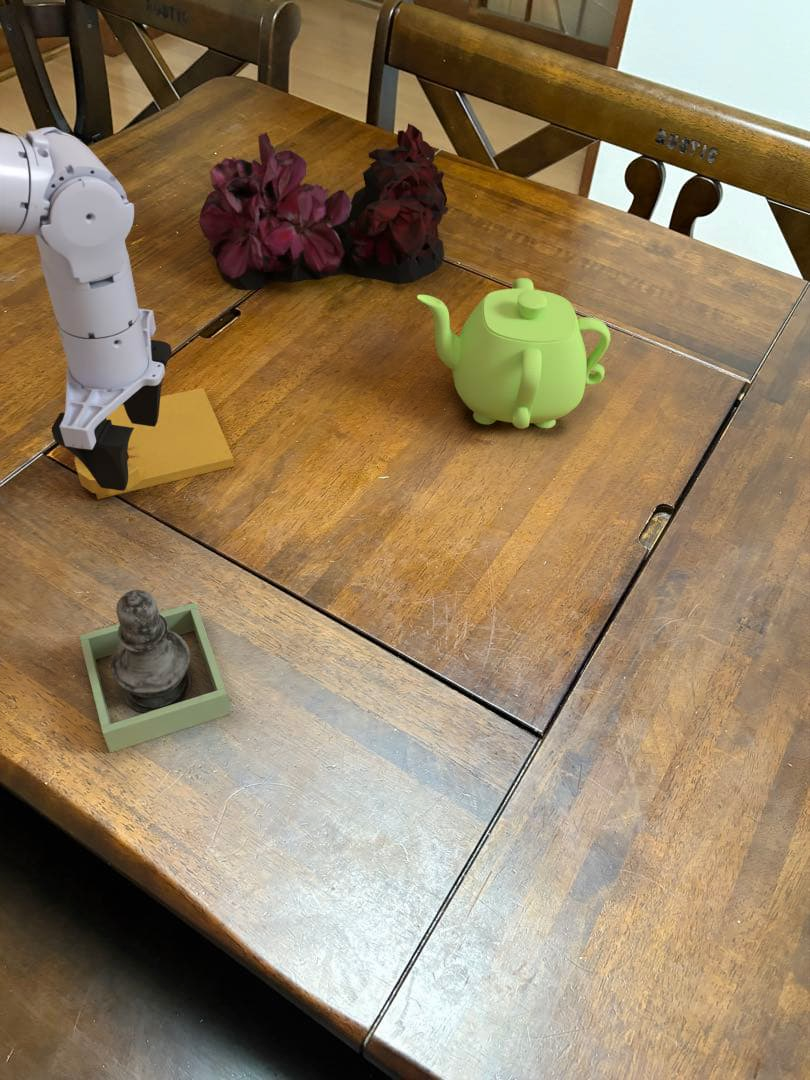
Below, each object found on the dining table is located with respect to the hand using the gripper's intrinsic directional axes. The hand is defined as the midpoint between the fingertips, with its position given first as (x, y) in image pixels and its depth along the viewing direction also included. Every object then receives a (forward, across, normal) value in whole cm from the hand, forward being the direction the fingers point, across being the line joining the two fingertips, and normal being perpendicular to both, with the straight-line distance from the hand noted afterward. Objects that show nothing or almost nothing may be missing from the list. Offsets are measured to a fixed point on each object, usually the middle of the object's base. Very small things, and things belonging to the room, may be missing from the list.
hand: (129, 453), depth 75 cm
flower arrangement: (+10, +48, -8) cm, 49 cm away
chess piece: (+10, -15, -6) cm, 19 cm away
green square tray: (+10, -16, -6) cm, 19 cm away
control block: (+10, +11, +3) cm, 15 cm away
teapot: (+10, +25, -31) cm, 41 cm away
